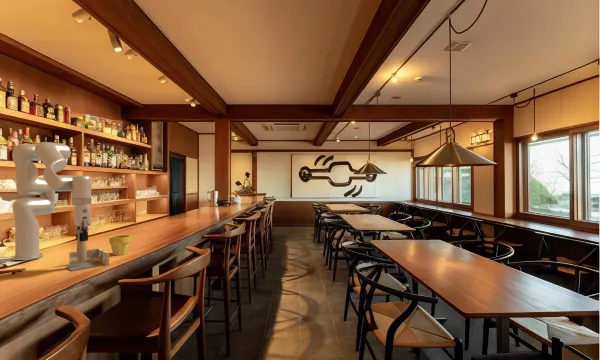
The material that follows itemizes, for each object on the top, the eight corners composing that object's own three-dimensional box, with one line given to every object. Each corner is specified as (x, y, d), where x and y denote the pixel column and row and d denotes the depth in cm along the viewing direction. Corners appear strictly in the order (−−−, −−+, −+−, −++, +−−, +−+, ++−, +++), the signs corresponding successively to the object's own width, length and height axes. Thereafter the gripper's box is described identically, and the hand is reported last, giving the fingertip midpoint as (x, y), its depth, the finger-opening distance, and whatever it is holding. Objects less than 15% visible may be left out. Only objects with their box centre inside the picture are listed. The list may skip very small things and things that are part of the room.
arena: (69, 264, 148) (69, 252, 148) (100, 259, 158) (100, 248, 158) (76, 270, 139) (76, 257, 139) (109, 265, 148) (109, 252, 148)
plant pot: (119, 251, 177) (119, 234, 177) (135, 252, 175) (135, 235, 175) (104, 255, 167) (104, 237, 167) (121, 256, 164) (121, 238, 164)
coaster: (66, 267, 145) (66, 265, 145) (91, 262, 152) (91, 261, 152) (71, 271, 138) (71, 270, 138) (97, 266, 145) (97, 265, 145)
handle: (71, 262, 142) (71, 230, 142) (81, 259, 148) (81, 228, 148) (82, 262, 142) (82, 230, 142) (91, 259, 148) (91, 228, 148)
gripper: (96, 202, 142) (96, 241, 142) (86, 200, 154) (86, 236, 154) (76, 203, 136) (76, 243, 136) (67, 201, 148) (67, 239, 148)
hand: (81, 239), depth 145 cm, fingers closed on handle, 6 cm apart
